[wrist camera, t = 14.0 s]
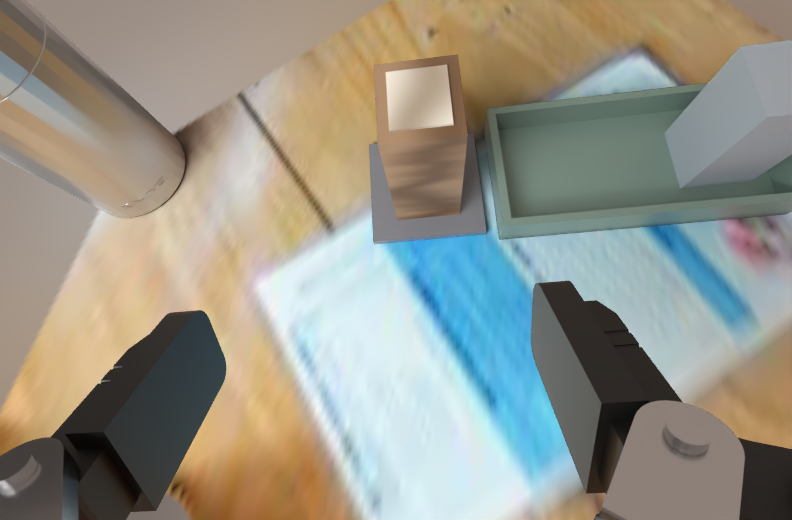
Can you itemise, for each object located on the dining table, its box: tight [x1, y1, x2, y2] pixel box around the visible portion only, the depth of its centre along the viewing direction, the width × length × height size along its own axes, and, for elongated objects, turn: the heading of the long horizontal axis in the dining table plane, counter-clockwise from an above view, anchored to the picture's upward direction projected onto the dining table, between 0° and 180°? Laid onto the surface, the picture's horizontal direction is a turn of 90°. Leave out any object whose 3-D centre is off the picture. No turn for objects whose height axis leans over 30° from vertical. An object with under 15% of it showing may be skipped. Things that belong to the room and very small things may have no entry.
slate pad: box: [369, 133, 487, 244], centre depth 35 cm, size 9×9×1 cm
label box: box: [374, 55, 468, 220], centre depth 29 cm, size 5×6×11 cm
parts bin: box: [484, 83, 792, 240], centre depth 32 cm, size 21×10×3 cm, turn 93°
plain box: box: [664, 40, 792, 189], centre depth 28 cm, size 5×5×9 cm
